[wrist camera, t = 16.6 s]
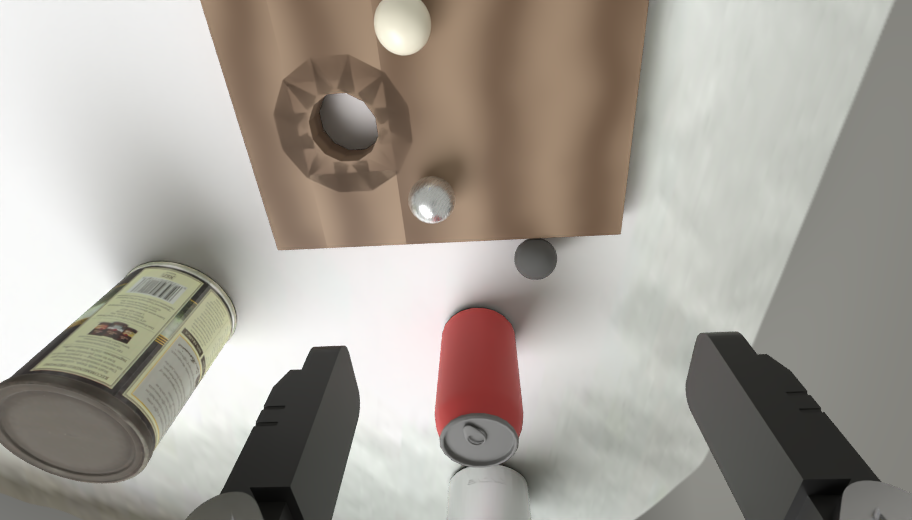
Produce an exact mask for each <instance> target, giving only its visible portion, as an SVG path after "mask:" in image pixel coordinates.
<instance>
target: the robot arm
mask: <svg viewBox="0 0 912 520" xmlns="http://www.w3.org/2000/svg"><path fill="white" fill-rule="evenodd" d="M686 397H687V402H688V405H689V408H690V411H691V413H692V415H693V417H694V419H695V421H696V423H697V425H698V427H699V429H700V431H701V432H702V434H703V436H704V438H705V440H706V442H707V444H708V446H709V448H710V450H711V452H712V454H713V456H714V458H715V460H716V462H717V464H718V466H719V468H720V470H721V472H722V474H723V476H724V478H725V480H726V482H727V484H728V486H729V488H730V490H731V492H732V494H733V496H734V498H735V500H736V502H737V503H738V505H739V508H740V510H741V512H742V513H743V516H744V518H745V520H912V494H911V493H909V492H907V491H905V490H903V489H901V488H898V487H895V486H893V485H890V484H886V483H883V482H881V481H880V480H879V479H878V478H877V476H876V475H875V474H874V473H873V471H872V470H871V469H870V468H869V466H868V465H867V464H866V463H865V461H864V460H863V459H862V458H861V457H860V455H859V454H858V453H857V452H856V450H855V449H854V448H853V447H852V446H851V444H850V443H849V442H848V441H847V439H846V438H845V437H844V436H843V434H842V433H841V432H840V431H839V430H838V428H837V427H836V426H835V425H834V423H832V421H831V420H830V419H829V417H828V416H827V415H826V414H825V412H823V413H822V412H821V407H820V406H819V405H818V404H817V403H816V401H815V400H814V399H813V398H812V396H811V395H808V394H807V390H806V389H805V388H804V387H803V386H802V384H801V383H800V382H799V381H798V379H797V378H796V377H795V376H794V374H793V373H792V372H791V371H790V370H789V369H787V368H786V367H784V366H783V365H781V364H780V363H779V362H777V361H776V360H774V359H773V358H772V357H770V356H769V355H767V354H759V355H757V354H756V352H755V351H754V350H753V348H752V347H751V346H750V344H749V343H748V342H747V340H746V339H745V338H744V337H743V335H742V334H740V333H739V332H711V333H700V334H699V335H698V336H697V339H696V342H695V346H694V351H693V355H692V359H691V363H690V367H689V372H688V376H687V380H686ZM359 410H360V397H359V390H358V386H357V382H356V378H355V375H354V371H353V367H352V363H351V359H350V355H349V351H348V349H347V347H346V346H323V347H313V348H312V349H311V350H310V352H309V354H308V356H307V358H306V361H305V363H304V365H303V368H302V370H290V371H289V372H288V373H287V374H286V375H285V376H284V377H283V378H282V379H281V380H280V381H279V382H278V383H277V384H276V385H275V386H274V387H273V389H272V391H271V393H270V395H269V397H268V399H267V401H266V403H265V405H264V410H262V411H261V413H260V415H259V417H258V419H257V421H256V426H254V427H253V429H252V431H251V433H250V435H249V437H248V439H247V441H246V443H245V445H244V447H243V449H242V451H241V453H240V455H239V457H238V459H237V461H236V463H235V465H234V467H233V469H232V472H231V474H230V476H229V478H228V480H227V482H226V484H225V486H224V488H223V489H222V491H221V493H220V494H219V495H217V496H215V497H213V498H211V499H209V500H207V501H206V502H204V503H202V504H201V505H200V506H199V507H197V508H196V509H195V510H194V511H193V512H192V513H191V514H190V515H189V516H188V517H187V518H186V519H185V520H332V516H333V512H334V509H335V505H336V501H337V497H338V493H339V490H340V486H341V482H342V478H343V475H344V471H345V467H346V463H347V459H348V456H349V452H350V448H351V444H352V440H353V437H354V433H355V429H356V425H357V421H358V417H359ZM447 520H531V513H530V503H529V493H528V485H527V482H526V480H525V479H524V478H523V476H522V475H520V474H519V473H518V472H516V471H515V470H513V469H511V468H508V467H505V466H501V465H496V466H491V467H486V468H473V467H467V468H465V469H462V470H461V471H459V472H457V473H456V474H455V475H454V476H453V477H452V479H451V480H450V482H449V488H448V507H447Z"/></svg>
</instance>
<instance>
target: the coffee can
mask: <svg viewBox="0 0 912 520" xmlns="http://www.w3.org/2000/svg"><path fill="white" fill-rule="evenodd" d="M235 327H236V313H235V309H234V307H233V305H232V302H231V300H230V299H229V297H228V296H227V295H226V293H225V292H224V291H223V290H222V288H221V287H220V286H219V285H218V284H217V283H215V282H214V281H213V280H212V279H210V278H209V277H208V276H206V275H205V274H203V273H201V272H200V271H198V270H195V269H193V268H190V267H188V266H185V265H181V264H178V263H173V262H150V263H146V264H142V265H140V266H138V267H136V268H134V269H133V270H132V271H130V272H129V273H128V275H127V276H126V277H125V278H124V279H123V280H122V281H121V282H119V283H118V284H117V285H116V286H115V287H114V288H112V289H111V290H110V291H109V292H108V293H107V294H106V295H104V296H103V297H102V298H101V299H100V300H99V301H98V302H97V303H95V304H94V305H93V306H92V307H91V308H90V309H88V310H87V311H86V312H85V313H84V314H83V315H82V316H80V317H79V318H78V319H77V320H76V321H75V322H74V323H72V324H71V325H70V326H69V327H68V328H67V329H66V330H64V331H63V332H62V333H61V334H60V335H59V336H57V337H56V338H55V339H54V340H53V341H52V342H51V343H49V344H48V345H47V346H46V347H45V348H44V349H42V350H41V351H40V352H39V353H38V354H37V355H36V356H34V357H33V358H32V359H31V360H30V361H29V362H28V363H26V364H25V365H24V366H23V367H22V368H21V369H20V370H18V371H17V372H16V373H15V374H14V375H13V376H12V377H10V378H9V379H7V380H5V381H3V382H1V383H0V443H1V444H2V445H3V446H4V447H5V448H7V449H8V450H9V451H10V452H12V453H13V454H14V455H16V456H17V457H19V458H21V459H22V460H24V461H25V462H27V463H29V464H31V465H33V466H35V467H37V468H39V469H42V470H44V471H46V472H49V473H51V474H54V475H57V476H60V477H64V478H67V479H71V480H75V481H81V482H88V483H115V482H121V481H125V480H128V479H130V478H133V477H135V476H136V475H138V474H139V473H140V472H142V471H143V469H144V468H145V467H146V465H147V464H148V462H149V460H150V458H151V456H152V453H153V451H154V450H155V448H156V447H157V445H158V444H159V442H160V441H161V439H162V438H163V436H164V435H165V433H166V432H167V430H168V429H169V427H170V426H171V424H172V423H173V421H174V420H175V418H176V417H177V415H178V414H179V412H180V411H181V409H182V408H183V406H184V405H185V403H186V402H187V400H188V399H189V397H190V396H191V394H192V393H193V391H194V390H195V388H196V387H197V385H198V384H199V383H200V381H201V380H202V378H203V376H204V375H205V373H206V372H207V371H208V369H209V368H210V366H211V365H212V363H213V362H214V360H215V359H216V357H217V355H218V354H219V352H220V351H221V349H222V348H223V346H224V345H225V343H226V342H227V341H228V340H229V339H230V338H231V336H232V335H233V333H234V330H235Z"/></svg>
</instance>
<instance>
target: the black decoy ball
mask: <svg viewBox="0 0 912 520" xmlns="http://www.w3.org/2000/svg"><path fill="white" fill-rule="evenodd" d="M556 263H557V255H556V251H555V249H554V247H553V246H552V245H551V244H550V243H549V242H548V241H546V240H544V239H541V238H532V239H527V240H525V241H524V242H522V243H521V244H520V245H519V247H518V248H517V250H516V252H515V265H516V268H517V269H518V271H519V272H520V273H521V274H522V275H523V276H525V277H526V278H529V279H533V280H539V279H543V278H545V277H547V276H548V275H550V274H551V273H552V272H553V270H554V268H555V266H556Z"/></svg>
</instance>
